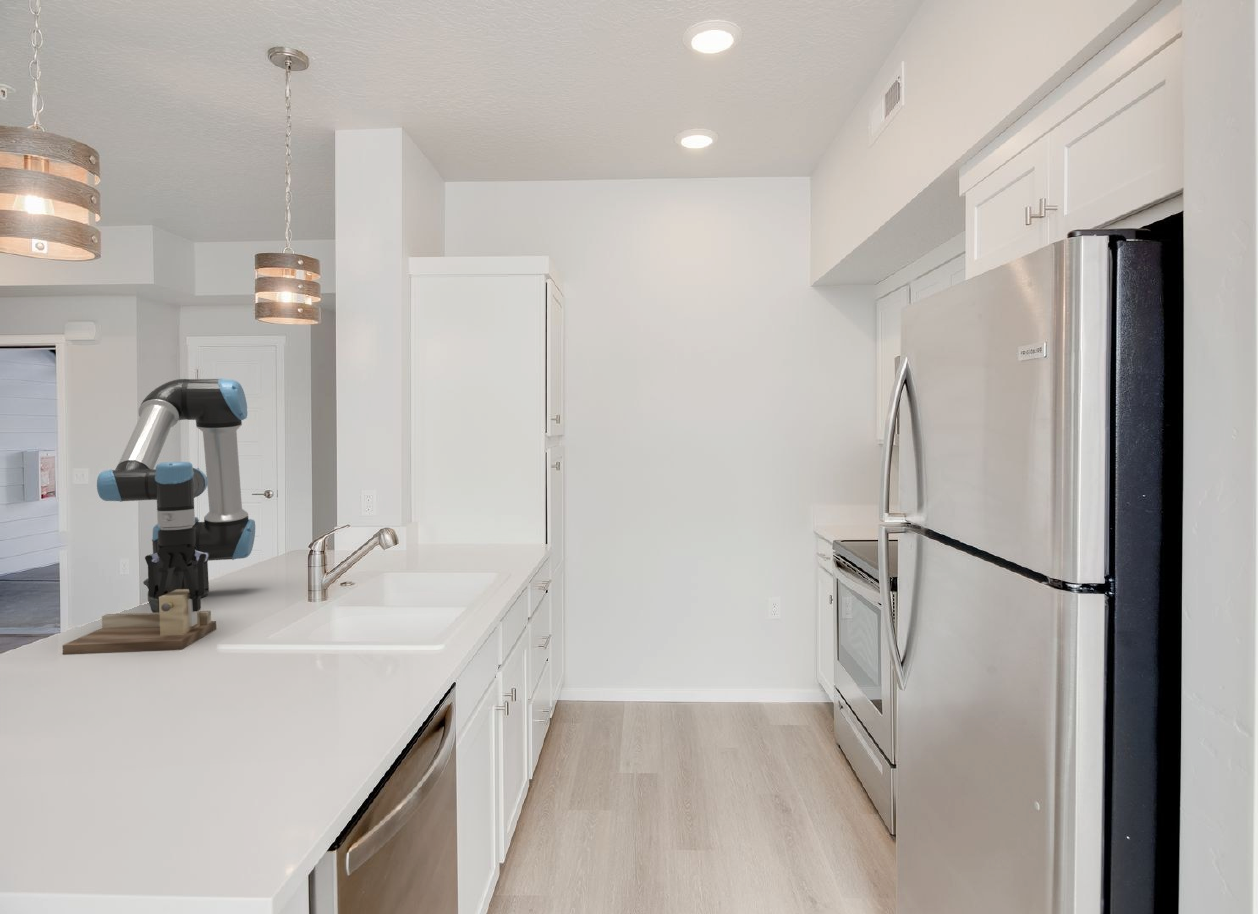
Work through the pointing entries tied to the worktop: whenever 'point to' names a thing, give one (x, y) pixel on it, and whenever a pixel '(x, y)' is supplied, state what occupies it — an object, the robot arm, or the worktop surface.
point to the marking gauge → (175, 613)
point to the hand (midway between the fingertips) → (180, 625)
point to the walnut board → (136, 635)
